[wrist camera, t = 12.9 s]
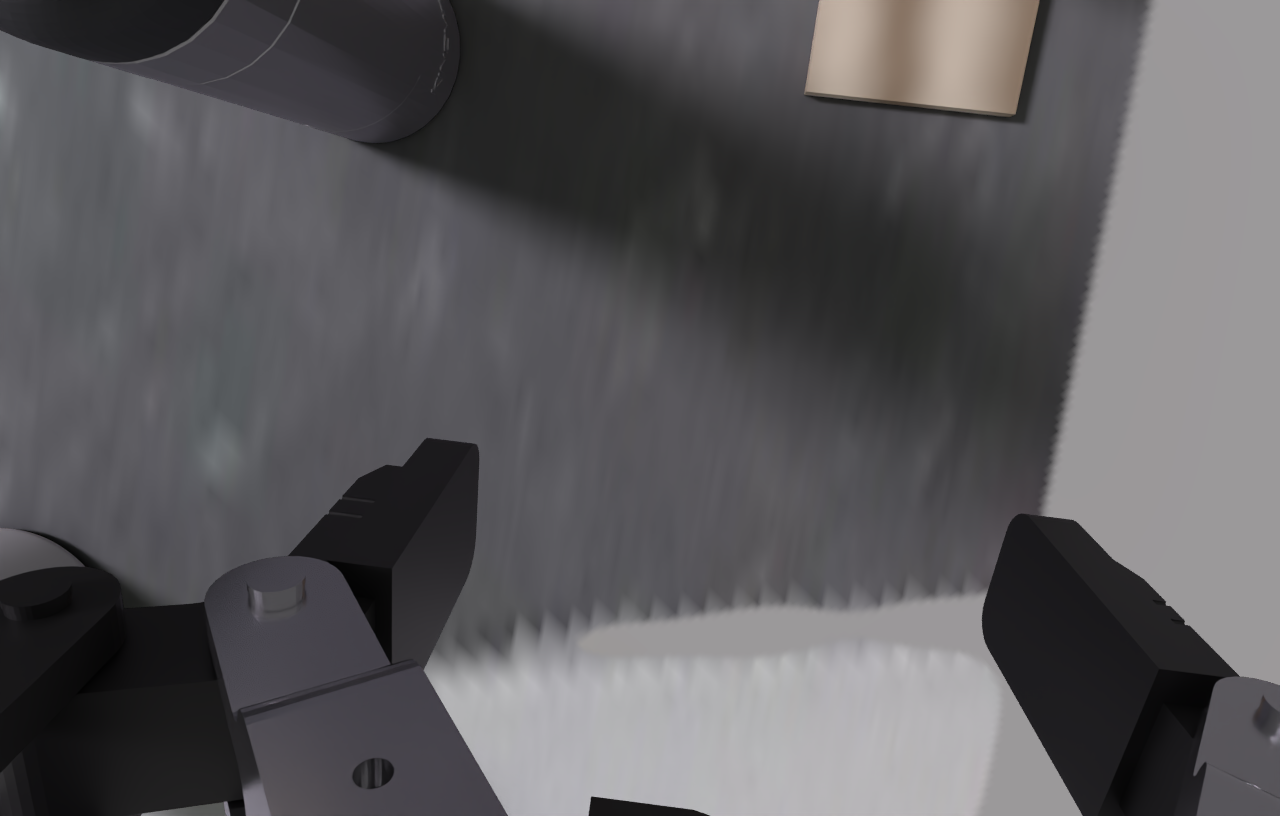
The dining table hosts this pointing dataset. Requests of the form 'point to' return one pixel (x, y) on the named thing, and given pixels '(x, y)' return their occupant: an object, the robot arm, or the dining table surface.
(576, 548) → the dining table surface
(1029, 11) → the press bench
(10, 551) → the cylinder vase
